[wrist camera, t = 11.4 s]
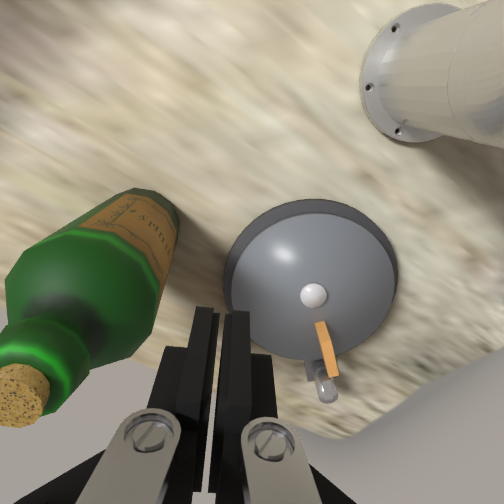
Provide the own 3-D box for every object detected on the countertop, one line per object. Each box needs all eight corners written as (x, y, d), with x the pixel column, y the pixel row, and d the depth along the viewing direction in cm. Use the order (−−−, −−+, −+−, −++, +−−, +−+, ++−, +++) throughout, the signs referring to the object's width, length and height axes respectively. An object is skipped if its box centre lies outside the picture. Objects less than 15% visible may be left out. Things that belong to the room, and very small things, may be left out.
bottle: (195, 261, 47) (136, 470, 22) (107, 268, 47) (-55, 484, 22) (181, 173, 43) (88, 302, 17) (86, 181, 43) (-147, 321, 18)
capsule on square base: (335, 373, 54) (346, 407, 49) (307, 377, 55) (314, 412, 49) (332, 345, 53) (343, 377, 47) (302, 350, 53) (310, 383, 47)
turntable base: (389, 183, 44) (394, 187, 43) (395, 337, 52) (400, 343, 51) (207, 216, 45) (206, 220, 44) (241, 361, 53) (241, 368, 52)
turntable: (211, 236, 44) (207, 255, 39) (378, 192, 43) (396, 206, 37) (254, 366, 51) (255, 397, 46) (398, 333, 50) (416, 361, 45)
